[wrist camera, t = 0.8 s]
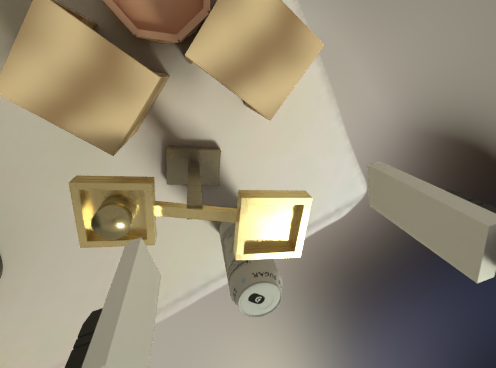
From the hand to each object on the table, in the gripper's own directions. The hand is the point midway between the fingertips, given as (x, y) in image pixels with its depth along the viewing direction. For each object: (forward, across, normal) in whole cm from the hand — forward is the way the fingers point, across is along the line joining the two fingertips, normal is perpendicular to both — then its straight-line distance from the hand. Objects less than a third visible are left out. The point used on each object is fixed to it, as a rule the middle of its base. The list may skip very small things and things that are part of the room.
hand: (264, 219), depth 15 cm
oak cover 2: (+22, +5, +9) cm, 25 cm away
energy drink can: (+23, -1, -15) cm, 27 cm away
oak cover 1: (+23, -10, +9) cm, 27 cm away
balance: (+23, -5, -3) cm, 23 cm away
